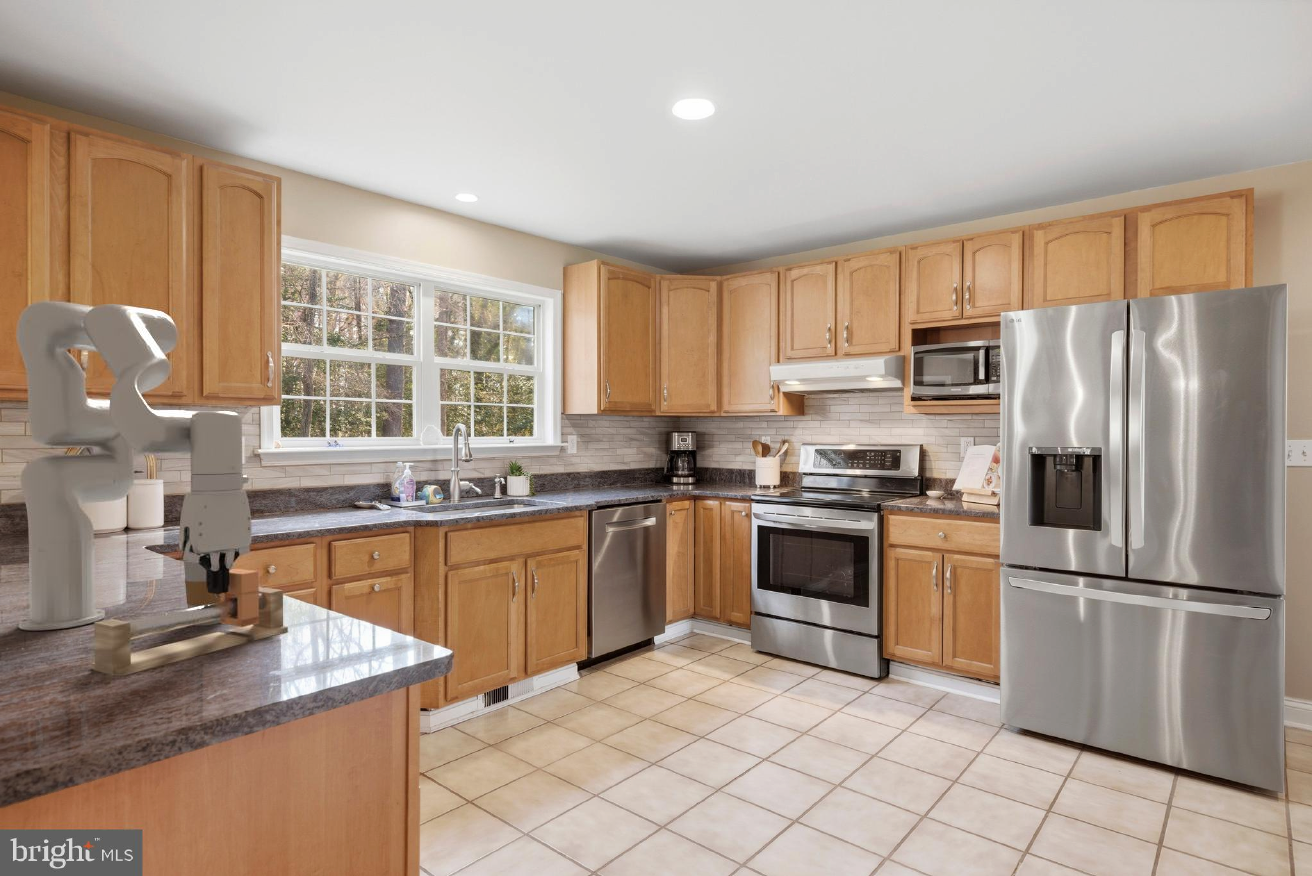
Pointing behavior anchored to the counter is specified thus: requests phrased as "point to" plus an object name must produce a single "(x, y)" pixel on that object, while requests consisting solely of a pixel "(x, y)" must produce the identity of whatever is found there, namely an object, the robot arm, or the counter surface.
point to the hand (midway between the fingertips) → (218, 592)
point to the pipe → (187, 617)
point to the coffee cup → (198, 588)
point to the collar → (243, 597)
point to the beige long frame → (117, 642)
